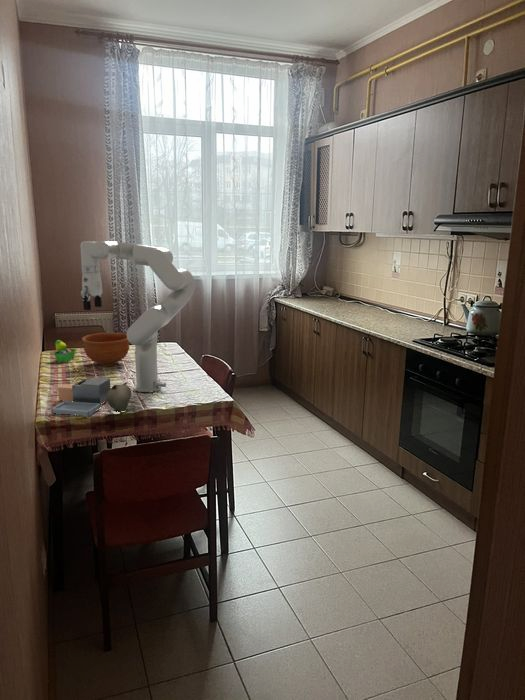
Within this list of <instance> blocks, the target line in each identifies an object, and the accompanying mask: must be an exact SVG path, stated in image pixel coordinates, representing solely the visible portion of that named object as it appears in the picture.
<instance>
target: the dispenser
mask: <svg viewBox="0 0 525 700" xmlns="http://www.w3.org/2000/svg"><path fill="white" fill-rule="evenodd" d="M71 385H72V392H73V402H85V403H99V404H101V403H103V402H104V401H106V395H107V393H108V391H109V390H110V389H111V388H112V386H111V378H107V377H105V378H104V377H91V378H90V379H88V378H83V379H82V380H80V381H78V382H76V383H74V384H71ZM106 402H107V401H106ZM103 404H104V403H103Z"/></svg>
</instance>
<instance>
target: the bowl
mask: <svg viewBox="0 0 525 700" xmlns="http://www.w3.org/2000/svg"><path fill="white" fill-rule="evenodd" d="M81 341H82V342H83V345H84V348H83V350H84V353H85V355H86V356H87V358H88V359H90V360H91V361H92V362H95V363H97V364H100V366H103V367H107V366H108V367H109V366H115V365H116V363H118V362H120V361H121V360H122V361H123V359H125V358H126V357H127V355H128V353H129V350H130V342H129V341H128V339H127V333H125V332H124V333H123V332H99V333H93V334H87V335H85V336H82V337H81Z"/></svg>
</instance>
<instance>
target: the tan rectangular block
mask: <svg viewBox="0 0 525 700" xmlns="http://www.w3.org/2000/svg"><path fill="white" fill-rule="evenodd" d="M72 385H73V384H68V383H64V384H62V385H59V386H58V387H57V392H58V393H57V395H58V401H59V400H62V402H64V401H73V392H72ZM63 400H64V401H63Z"/></svg>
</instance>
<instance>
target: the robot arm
mask: <svg viewBox="0 0 525 700" xmlns="http://www.w3.org/2000/svg"><path fill="white" fill-rule="evenodd" d="M80 259H81V261H80V262H81V273H82V275H81V276H82V277H81V281H82V282H81V291H80V296H81V299H82V303H83V306H82V307H83V310H84V311H91V309H92V304H91V303H92V302H91V300H90V299H91V297H94V298H93V299H94V307H95V308H102V307H103V305H102V303H103V301H102V298H103V296H102V295H103V283H102V282H103V281H102V276H101V272H100V271H101V269H100V260H107V259H119V260H125V261H131V262H132V263H133V264H134V265H139V266H146V267H149V268H150V269H151V270H152V272H153V274H155V275H156V277H157V278H158V279H159V280H160V281H161V282H162V284H163V285H164V286H165V287H166V288H167V289H168V290H170V292H169V293H168V294H167V295H166V296H165V297H164V298H163V299H162V300H161V301H160V302H159V303H158V304H156V305H154V306H151V307H149V308H148V309H146V310H145V311H144V312H143V313H142V314H141V315H140V316H138V318H137V319H136V320H135V321H134V322H133V323H132V324H131V325H130V326H129V327H128V329H127V331H126V334H127V339H128V341H129V344H131V345H133V346H135V347H134V348H135V349H134V351H135V352H134V354H135V355H134V356H135V357H134V358H135V361H134V362H135V379H136V381H135V383H136V384H135V385H133V387H132V390H133V389H134V390H135V391H134V390H133V391H134V392H136V391H139V392H138V393H141V392H149V393H152V392H151V391H155V392H157V391H156V390H158V391H160V390H161V389H162V388H166V387H167V383H166V381H161V379H160V378H159V377H158V375H159V374H158V336H159V332H158V331H159V330H161V328H163V327H165V326H166V325H168V324H169V323H170V321H172V320H173V318H174V317H175V316H176V315H177V314H178V313H179V312H180V311H181V310H182V309H183V307H185V306H186V305H187V303H189V302H190V300H191V298H192V296H193V295H194V292H195V285H196V284H195V279H194V276H193V274H192V273H191V272H190V271H189V270H188V269H185V268H177V267H175V266H174V264H173V262H174V256H173V253H172V252H171V250H170V249H169V248H168V249H167V248H165V247H158V246H150V245H143V244H138V243H129V242H122V241H116V240H115V241H114V240H103V241H94V240H93V241H91V240H87V241H81V243H80ZM159 389H160V390H159Z"/></svg>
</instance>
